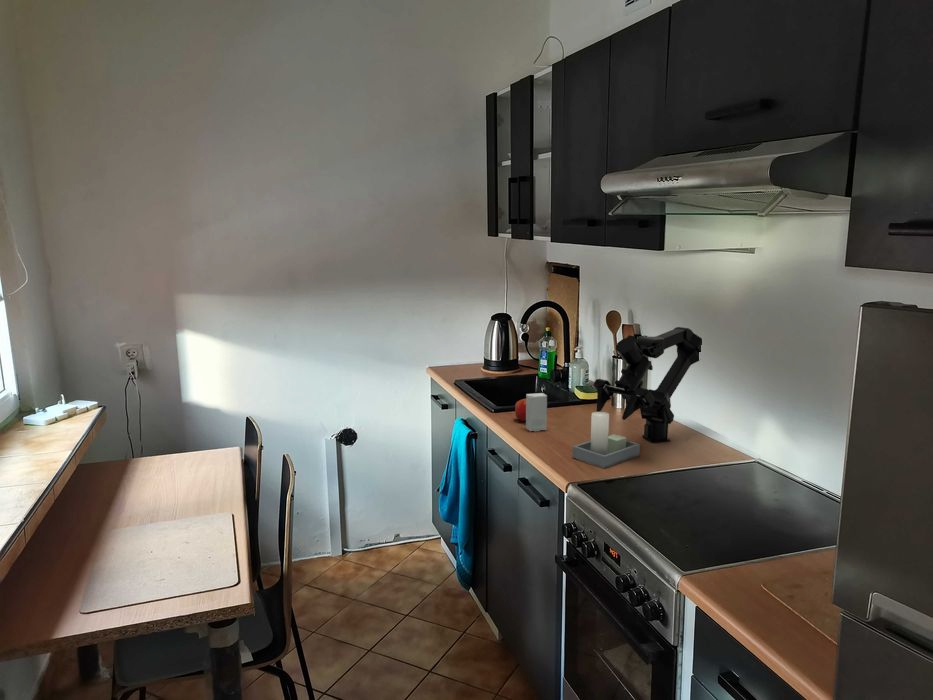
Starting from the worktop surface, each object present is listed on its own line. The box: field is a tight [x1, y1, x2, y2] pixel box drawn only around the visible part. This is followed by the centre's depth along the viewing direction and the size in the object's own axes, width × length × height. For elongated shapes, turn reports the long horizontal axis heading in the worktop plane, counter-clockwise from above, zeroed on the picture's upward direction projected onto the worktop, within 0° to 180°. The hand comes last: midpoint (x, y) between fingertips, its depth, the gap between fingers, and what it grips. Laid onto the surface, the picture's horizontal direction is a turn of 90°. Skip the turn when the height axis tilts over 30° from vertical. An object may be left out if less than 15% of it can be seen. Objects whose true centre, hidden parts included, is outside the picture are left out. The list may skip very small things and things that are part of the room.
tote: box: [571, 434, 641, 469], centre depth 201 cm, size 17×12×4 cm
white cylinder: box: [590, 411, 610, 455], centre depth 198 cm, size 5×5×13 cm
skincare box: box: [525, 392, 548, 432], centre depth 226 cm, size 6×4×12 cm
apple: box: [514, 398, 526, 422], centre depth 236 cm, size 8×8×8 cm
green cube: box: [608, 433, 627, 453], centre depth 203 cm, size 4×4×4 cm
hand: (610, 415), depth 200 cm, fingers open, 9 cm apart
